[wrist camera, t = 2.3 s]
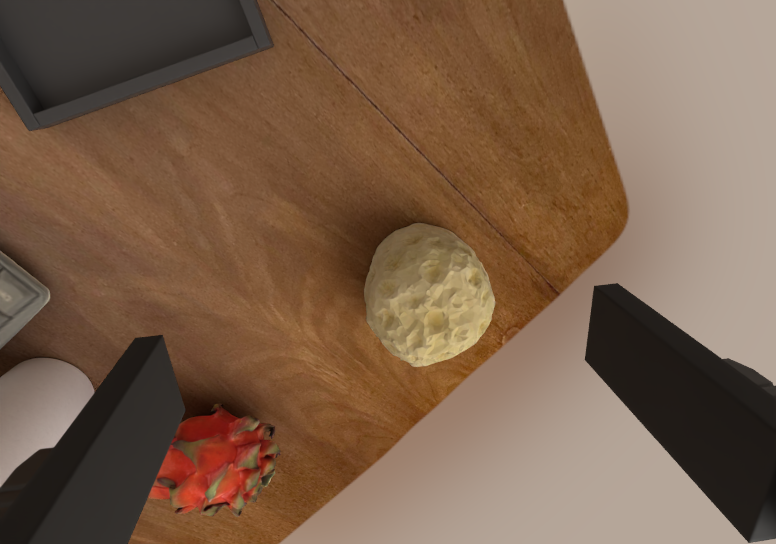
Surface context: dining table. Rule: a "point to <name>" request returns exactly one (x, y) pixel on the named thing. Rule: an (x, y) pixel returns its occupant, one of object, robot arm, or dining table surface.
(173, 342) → the dining table surface
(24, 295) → the laptop
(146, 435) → the robot arm
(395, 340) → the pale yellow lumpy ball
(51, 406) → the coffee cup
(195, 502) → the dragon fruit
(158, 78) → the tray
